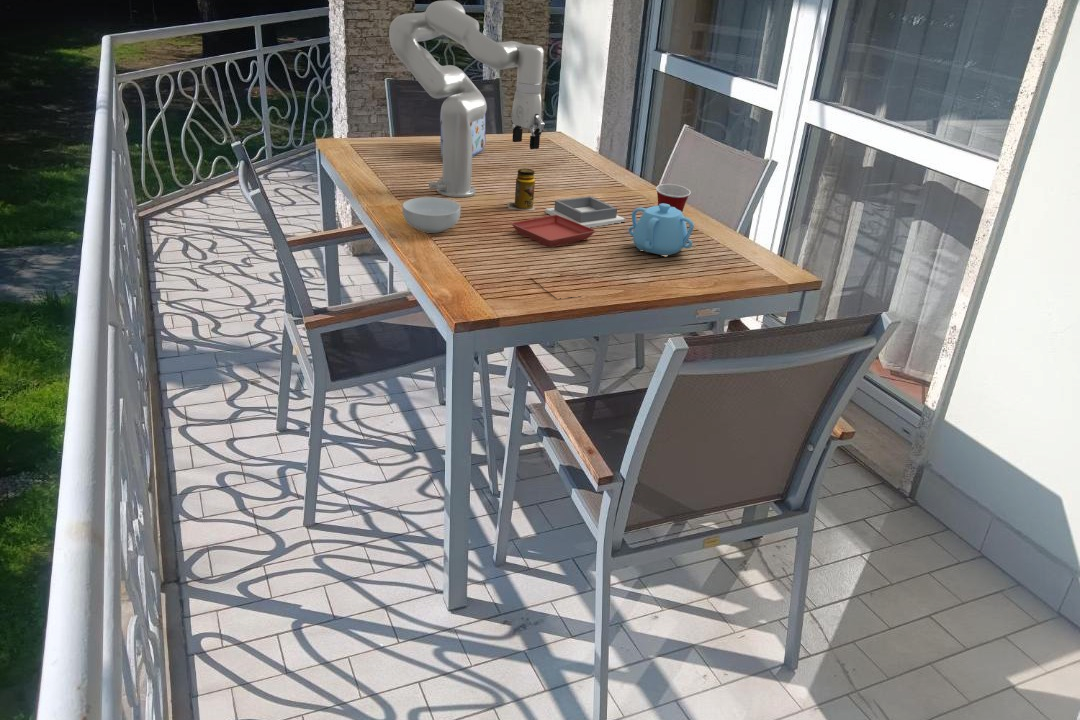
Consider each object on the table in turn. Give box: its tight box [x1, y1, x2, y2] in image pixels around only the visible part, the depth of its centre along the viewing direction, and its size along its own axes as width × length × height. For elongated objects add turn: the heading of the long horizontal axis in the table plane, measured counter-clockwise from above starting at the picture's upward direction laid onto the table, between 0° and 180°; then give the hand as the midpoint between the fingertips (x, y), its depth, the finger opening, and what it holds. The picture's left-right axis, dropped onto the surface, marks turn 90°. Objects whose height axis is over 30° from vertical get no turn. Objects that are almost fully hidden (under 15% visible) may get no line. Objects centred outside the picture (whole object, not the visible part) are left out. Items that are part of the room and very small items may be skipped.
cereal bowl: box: [401, 196, 461, 234], centre depth 250 cm, size 17×17×7 cm
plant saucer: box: [511, 215, 596, 248], centre depth 253 cm, size 18×18×3 cm
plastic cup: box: [655, 183, 692, 213], centre depth 268 cm, size 11×11×12 cm
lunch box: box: [439, 111, 487, 159], centre depth 325 cm, size 28×10×22 cm, turn 162°
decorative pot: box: [628, 203, 695, 256], centre depth 246 cm, size 16×16×14 cm
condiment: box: [506, 167, 536, 211], centre depth 275 cm, size 7×8×12 cm
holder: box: [545, 195, 626, 228], centre depth 271 cm, size 18×18×4 cm
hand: (525, 145), depth 268 cm, fingers open, 9 cm apart
